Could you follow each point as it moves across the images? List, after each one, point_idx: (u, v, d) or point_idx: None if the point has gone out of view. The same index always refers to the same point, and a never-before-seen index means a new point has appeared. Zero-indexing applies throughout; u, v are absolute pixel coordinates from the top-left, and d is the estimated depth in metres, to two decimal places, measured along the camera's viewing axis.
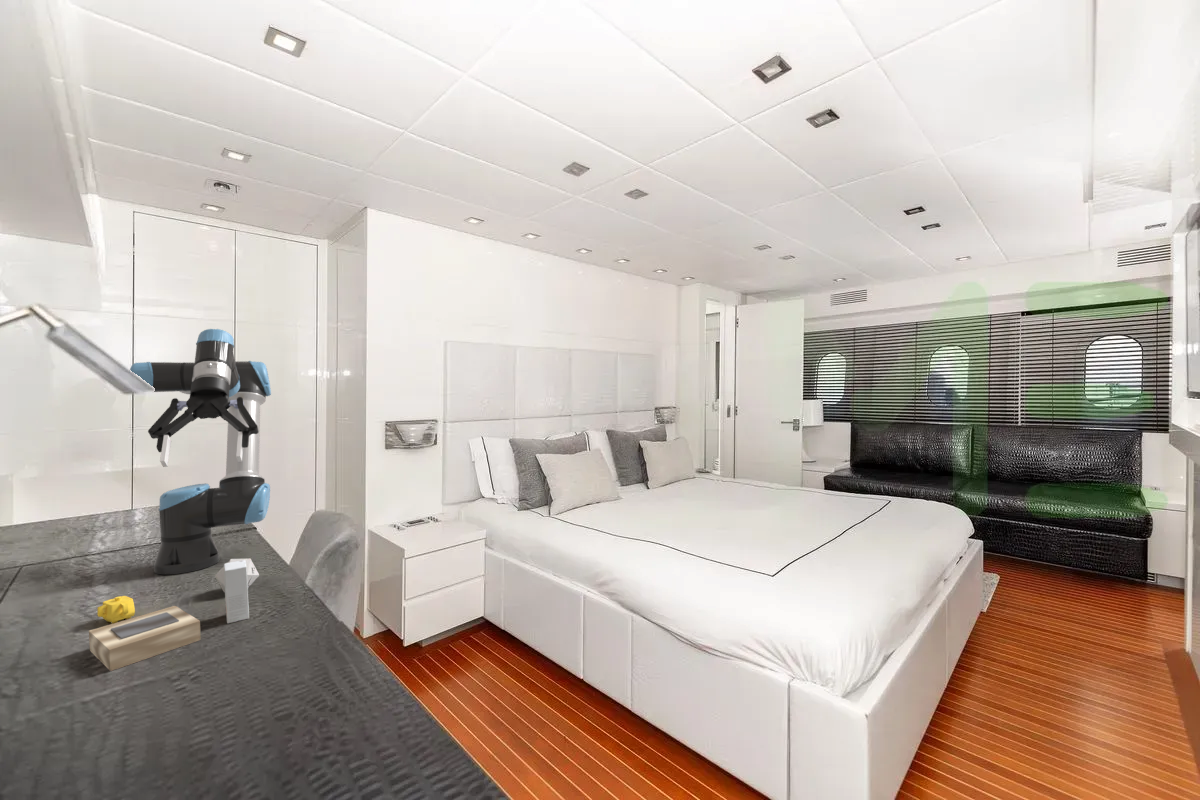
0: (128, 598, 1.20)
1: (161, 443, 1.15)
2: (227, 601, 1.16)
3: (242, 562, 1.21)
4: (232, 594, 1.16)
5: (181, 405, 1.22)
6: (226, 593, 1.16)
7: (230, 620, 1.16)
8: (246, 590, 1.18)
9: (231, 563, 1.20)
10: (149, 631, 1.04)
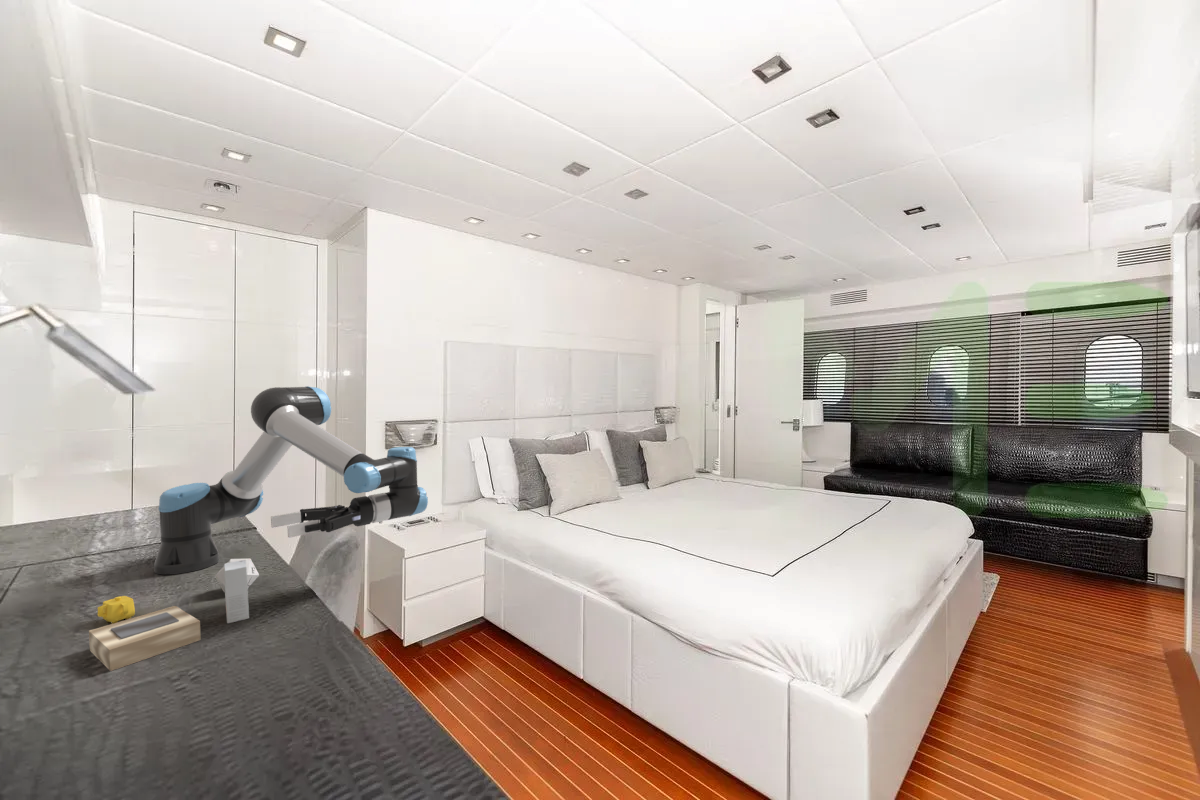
0: (128, 598, 1.20)
1: None
2: (227, 601, 1.16)
3: (242, 562, 1.21)
4: (232, 594, 1.16)
5: None
6: (226, 593, 1.16)
7: (230, 620, 1.16)
8: (246, 590, 1.18)
9: (231, 563, 1.20)
10: (149, 631, 1.04)
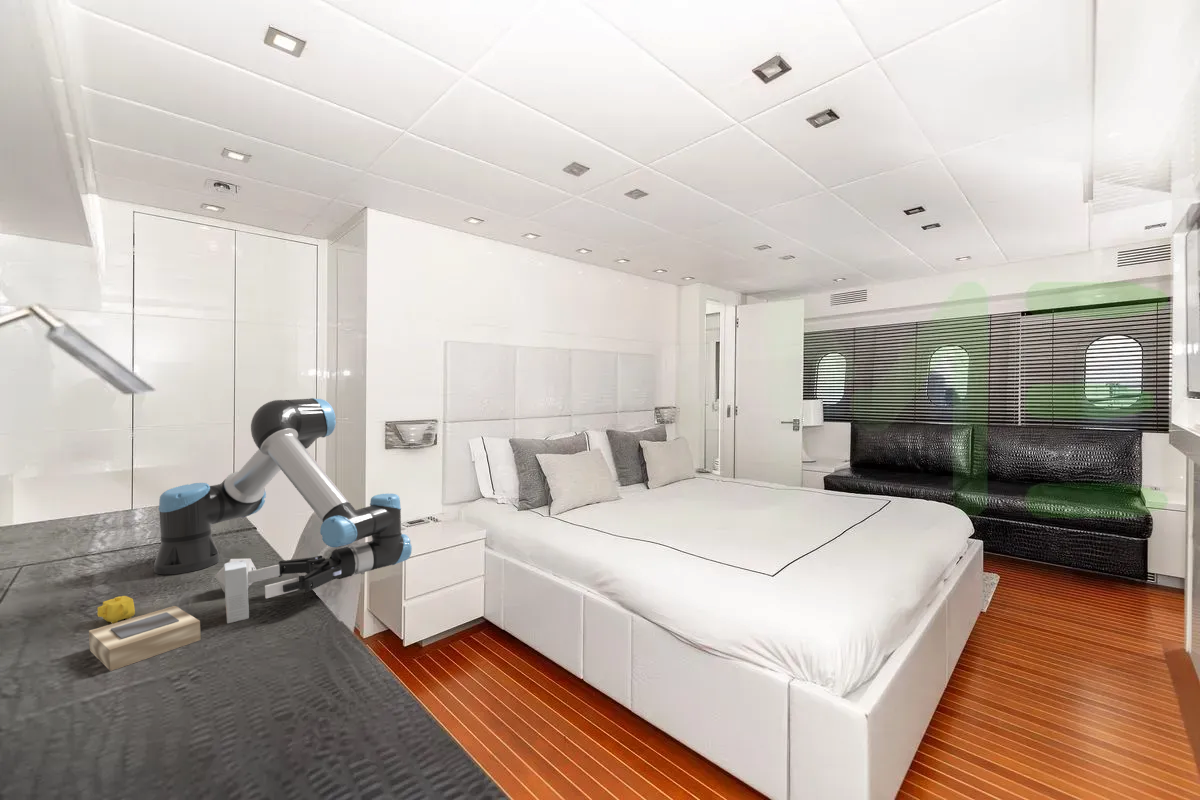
0: (128, 598, 1.20)
1: None
2: (227, 601, 1.16)
3: (242, 562, 1.21)
4: (232, 594, 1.16)
5: None
6: (226, 593, 1.16)
7: (230, 620, 1.16)
8: (246, 590, 1.18)
9: (231, 563, 1.20)
10: (149, 631, 1.04)
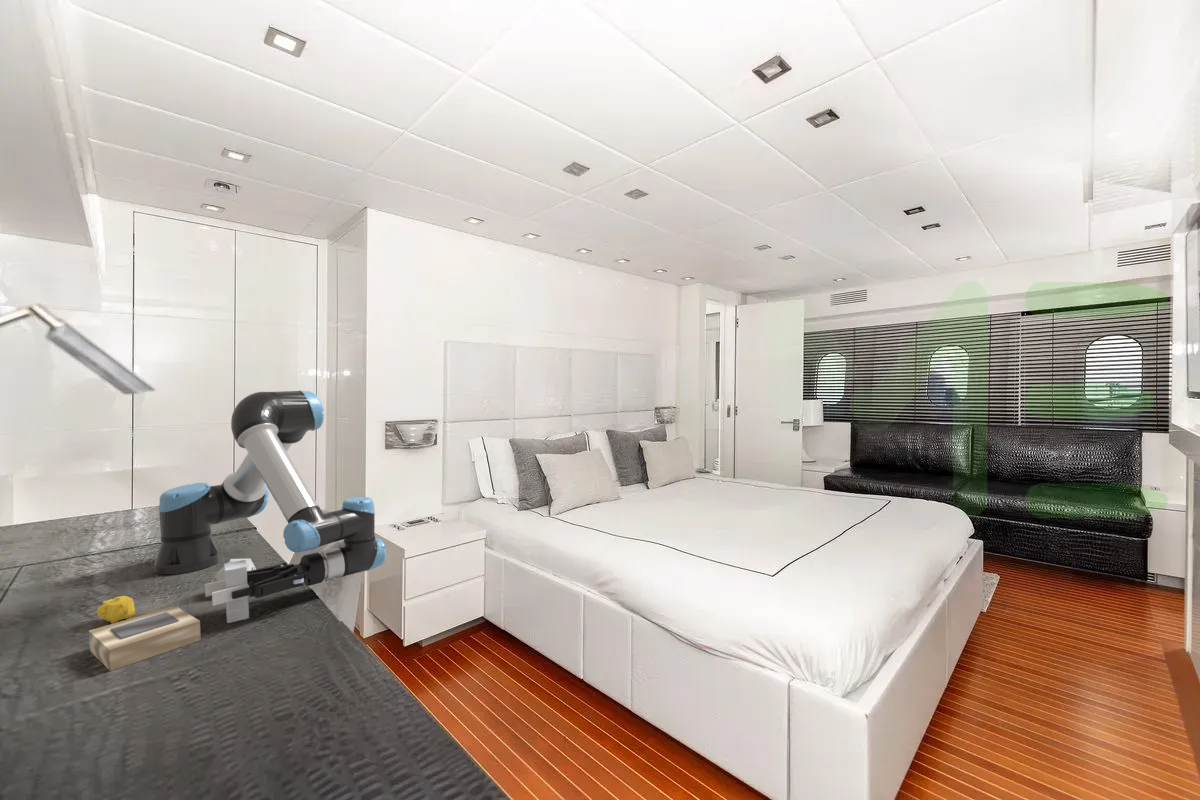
0: (128, 598, 1.20)
1: None
2: None
3: (242, 562, 1.21)
4: None
5: None
6: None
7: (230, 620, 1.16)
8: None
9: (231, 563, 1.20)
10: (149, 631, 1.04)
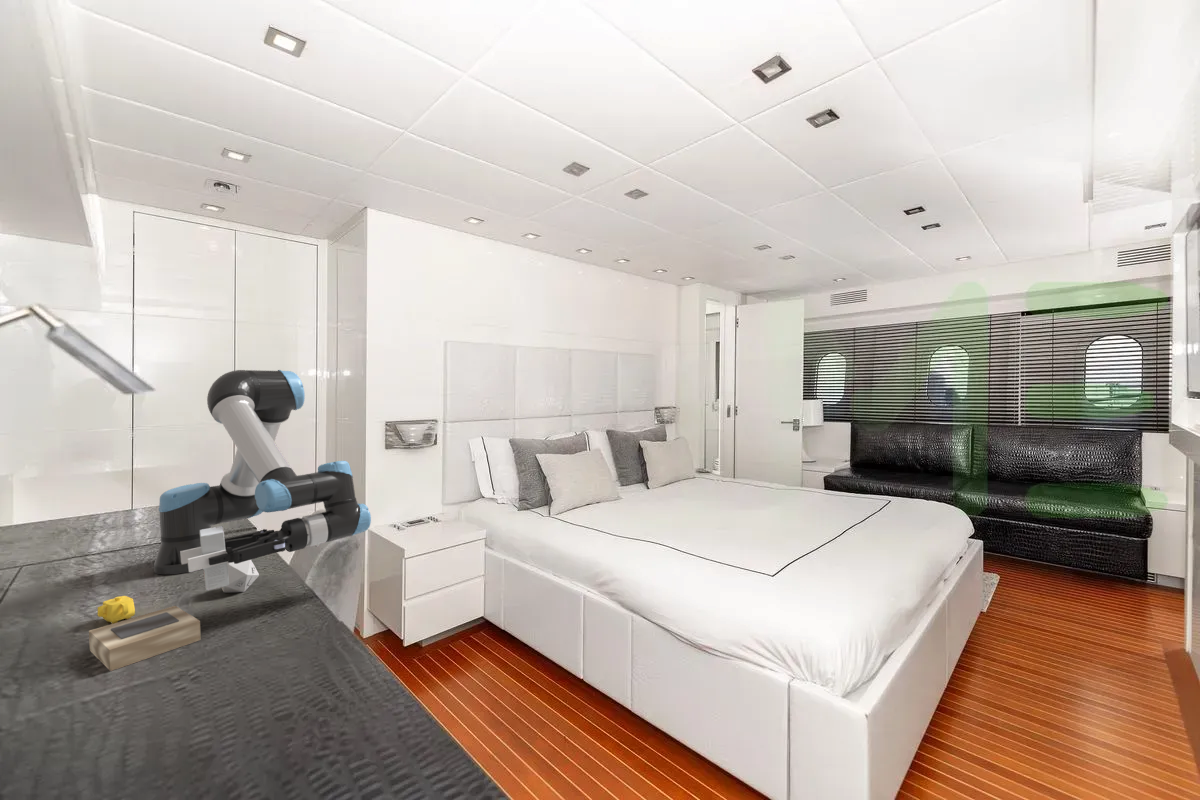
0: (128, 598, 1.20)
1: None
2: (205, 568, 1.11)
3: (219, 528, 1.16)
4: None
5: None
6: None
7: (208, 587, 1.12)
8: None
9: (208, 529, 1.15)
10: (149, 631, 1.04)
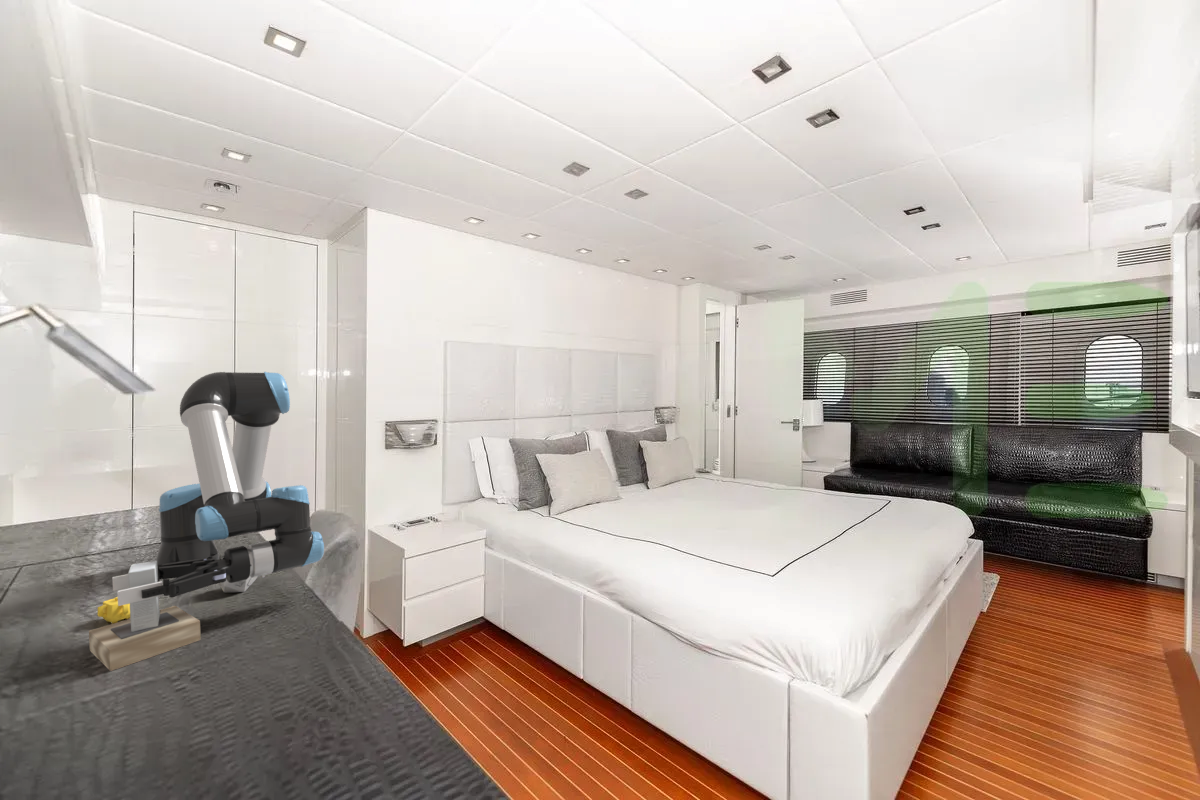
0: None
1: None
2: (131, 607, 1.03)
3: (152, 563, 1.08)
4: None
5: None
6: None
7: (134, 628, 1.04)
8: None
9: (139, 564, 1.07)
10: (149, 631, 1.04)
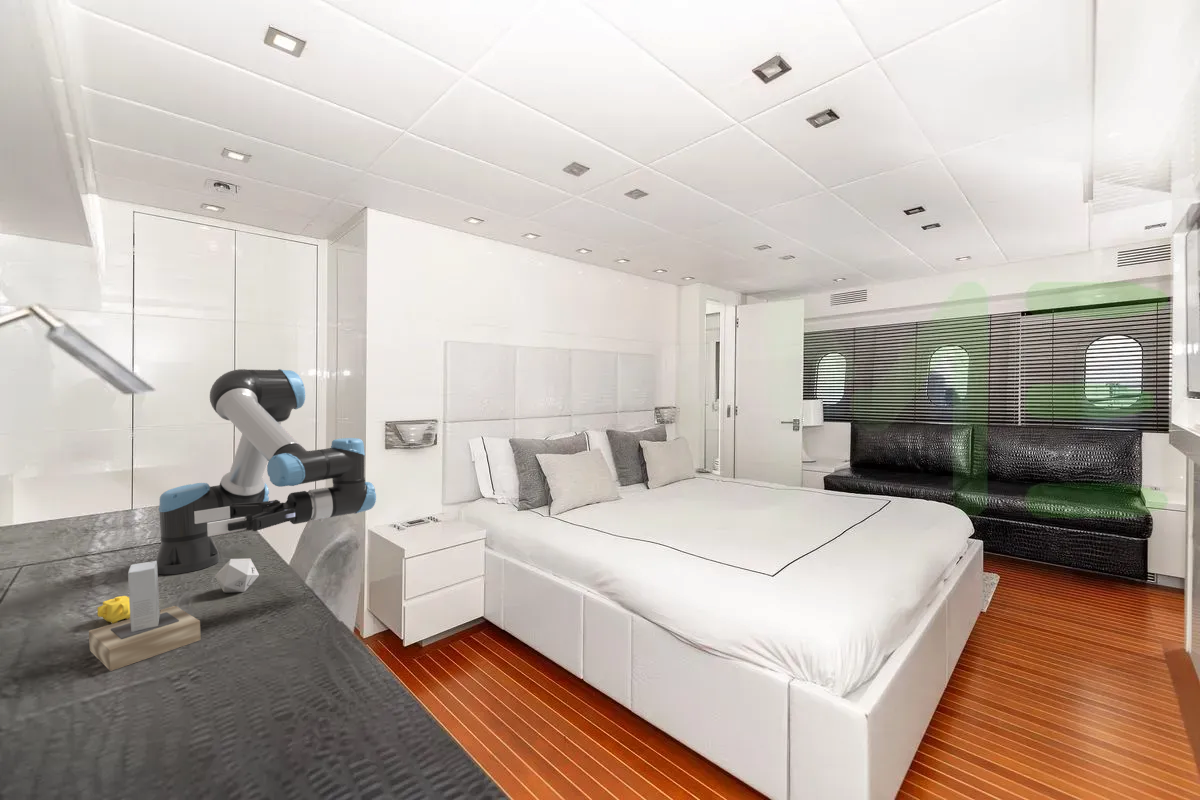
0: (128, 598, 1.20)
1: None
2: (131, 607, 1.03)
3: (152, 563, 1.08)
4: (137, 599, 1.04)
5: None
6: (130, 598, 1.03)
7: (134, 628, 1.04)
8: (154, 594, 1.05)
9: (139, 564, 1.07)
10: (149, 631, 1.04)
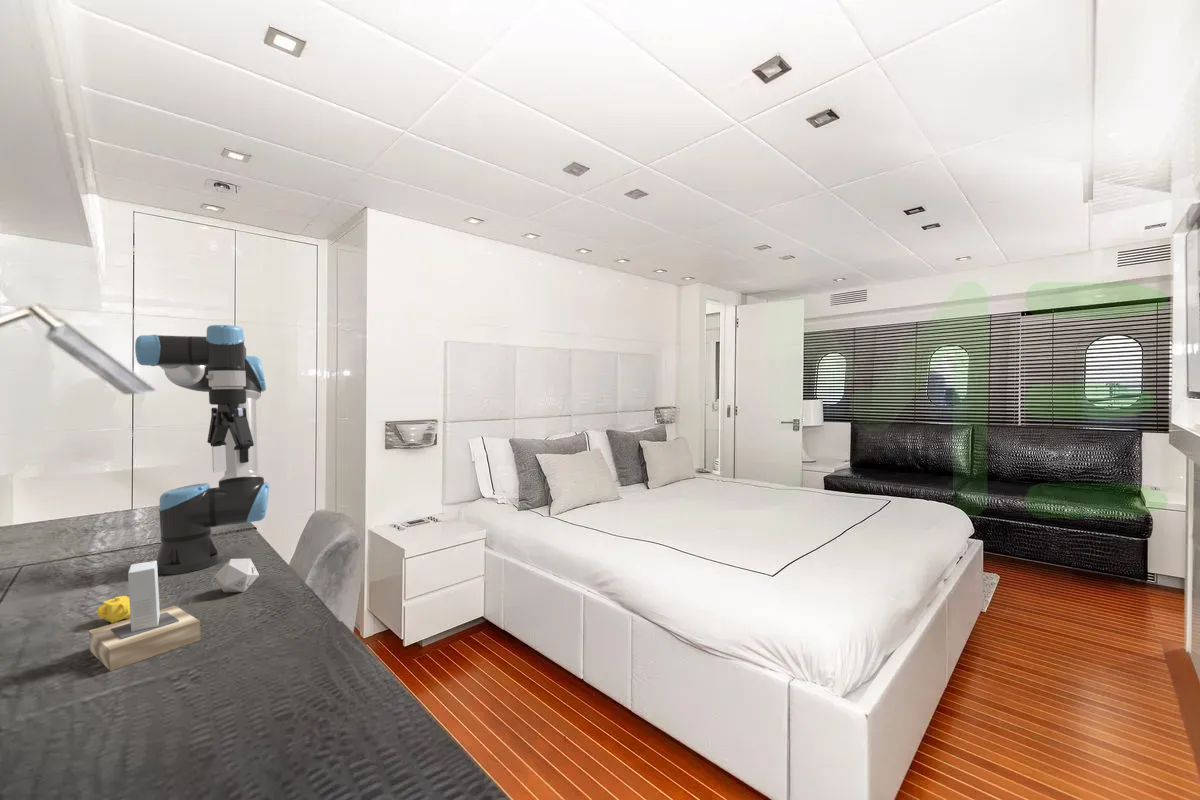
0: (128, 598, 1.20)
1: None
2: (131, 607, 1.03)
3: (152, 563, 1.08)
4: (138, 599, 1.04)
5: None
6: (130, 598, 1.03)
7: (134, 628, 1.04)
8: (154, 594, 1.05)
9: (139, 564, 1.07)
10: (149, 631, 1.04)
